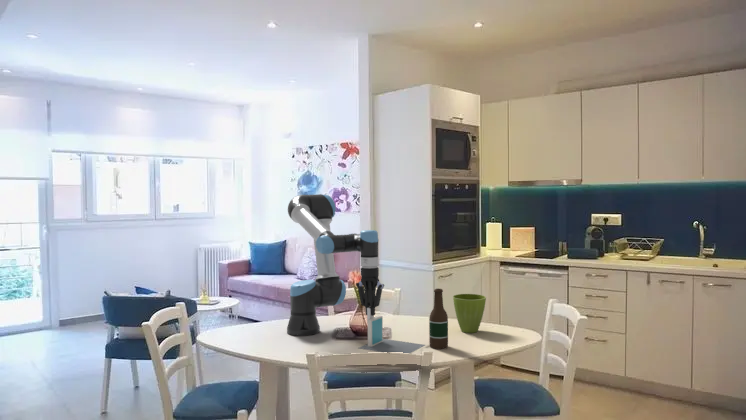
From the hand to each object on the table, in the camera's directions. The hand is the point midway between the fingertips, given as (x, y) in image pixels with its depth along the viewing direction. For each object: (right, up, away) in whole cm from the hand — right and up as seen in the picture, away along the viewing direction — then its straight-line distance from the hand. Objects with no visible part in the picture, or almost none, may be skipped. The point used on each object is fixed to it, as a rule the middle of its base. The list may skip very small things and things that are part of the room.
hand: (370, 322), depth 232 cm
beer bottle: (+28, -9, -4) cm, 30 cm away
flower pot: (+46, -9, +22) cm, 51 cm away
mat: (+9, -9, -5) cm, 14 cm away
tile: (+2, -9, -1) cm, 9 cm away
